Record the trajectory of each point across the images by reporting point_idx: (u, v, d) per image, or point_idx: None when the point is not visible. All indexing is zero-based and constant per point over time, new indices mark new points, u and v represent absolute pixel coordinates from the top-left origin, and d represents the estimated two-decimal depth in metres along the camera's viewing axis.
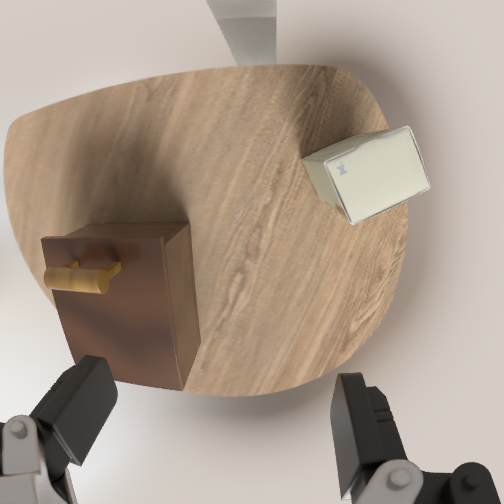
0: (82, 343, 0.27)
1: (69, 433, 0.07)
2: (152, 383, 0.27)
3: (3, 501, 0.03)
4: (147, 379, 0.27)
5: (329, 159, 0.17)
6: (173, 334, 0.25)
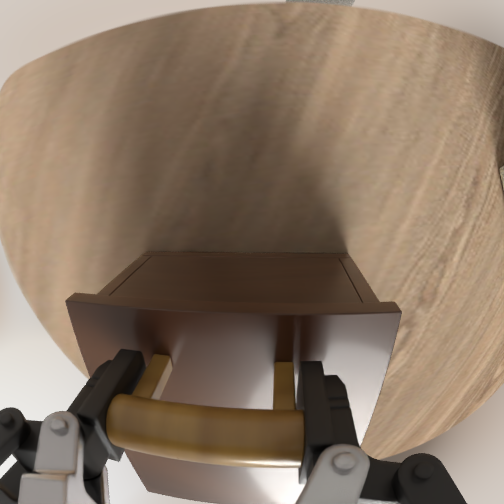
0: (163, 468, 0.14)
1: None
2: None
3: (28, 500, 0.03)
4: (281, 502, 0.14)
5: None
6: None
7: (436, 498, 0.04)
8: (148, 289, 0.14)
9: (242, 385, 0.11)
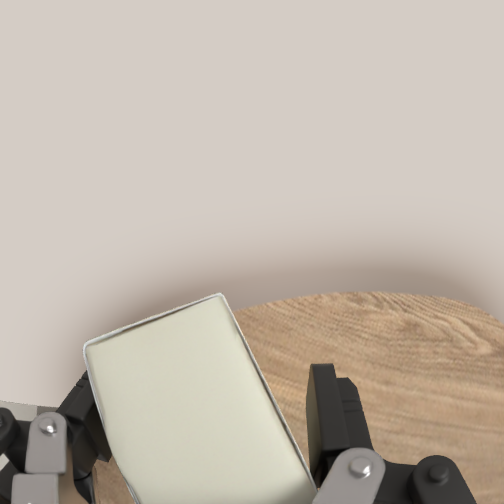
0: None
1: (98, 429, 0.07)
2: None
3: (21, 500, 0.03)
4: None
5: None
6: None
7: (449, 500, 0.04)
8: None
9: None
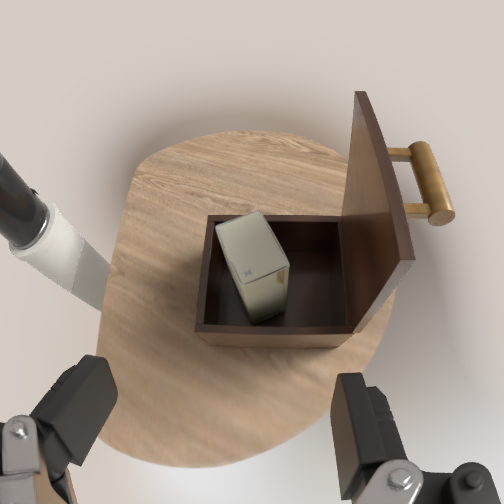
0: None
1: (69, 433, 0.07)
2: None
3: (3, 501, 0.03)
4: None
5: (240, 282, 0.24)
6: None
7: None
8: None
9: None
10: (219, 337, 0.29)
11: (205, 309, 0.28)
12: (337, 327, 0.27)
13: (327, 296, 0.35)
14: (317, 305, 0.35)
